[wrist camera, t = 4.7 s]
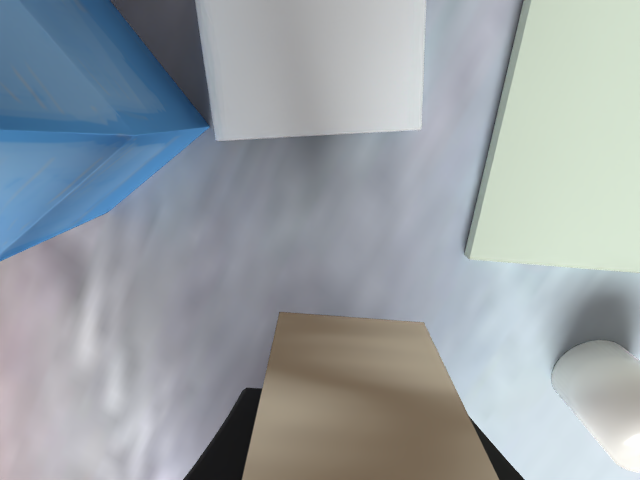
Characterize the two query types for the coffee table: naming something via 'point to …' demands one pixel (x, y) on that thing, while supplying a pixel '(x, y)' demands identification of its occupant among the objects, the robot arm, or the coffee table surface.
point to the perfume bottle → (79, 116)
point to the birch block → (360, 406)
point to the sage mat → (566, 142)
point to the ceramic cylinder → (604, 396)
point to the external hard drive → (312, 66)
